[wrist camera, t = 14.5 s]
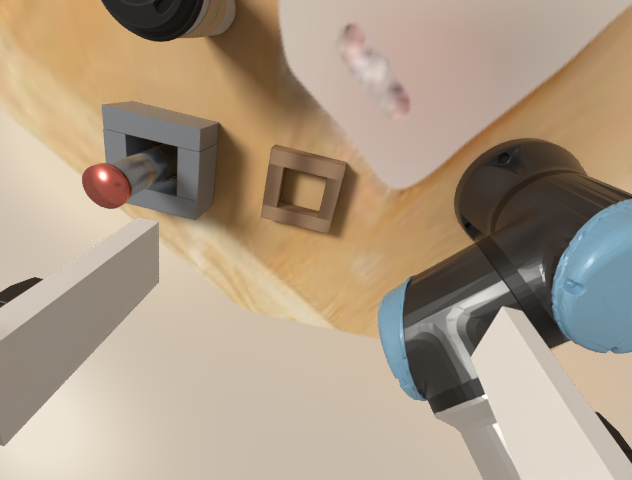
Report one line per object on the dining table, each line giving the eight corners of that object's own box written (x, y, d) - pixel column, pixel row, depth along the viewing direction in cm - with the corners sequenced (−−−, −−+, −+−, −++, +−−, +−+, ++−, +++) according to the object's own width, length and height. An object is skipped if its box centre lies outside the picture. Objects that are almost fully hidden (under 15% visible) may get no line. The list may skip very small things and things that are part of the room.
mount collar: (346, 162, 45) (345, 166, 43) (329, 226, 49) (328, 233, 47) (275, 144, 45) (271, 148, 42) (264, 210, 49) (260, 217, 47)
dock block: (219, 122, 44) (200, 129, 39) (213, 204, 50) (196, 220, 44) (131, 101, 44) (101, 104, 39) (135, 185, 50) (109, 198, 44)
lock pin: (191, 143, 46) (124, 171, 32) (190, 175, 48) (127, 213, 35) (159, 135, 46) (79, 160, 32) (159, 167, 48) (84, 202, 35)
